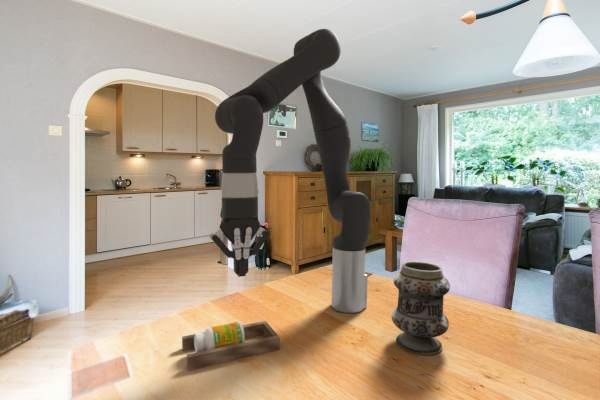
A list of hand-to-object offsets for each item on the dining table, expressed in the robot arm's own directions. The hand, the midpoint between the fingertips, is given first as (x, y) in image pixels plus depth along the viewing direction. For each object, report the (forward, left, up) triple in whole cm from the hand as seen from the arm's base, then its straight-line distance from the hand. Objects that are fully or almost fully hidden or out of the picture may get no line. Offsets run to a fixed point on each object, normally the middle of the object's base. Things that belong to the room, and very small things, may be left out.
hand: (241, 275), depth 71 cm
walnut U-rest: (+2, 0, -16) cm, 16 cm away
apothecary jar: (-37, +15, -16) cm, 43 cm away
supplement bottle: (0, 0, -13) cm, 13 cm away
